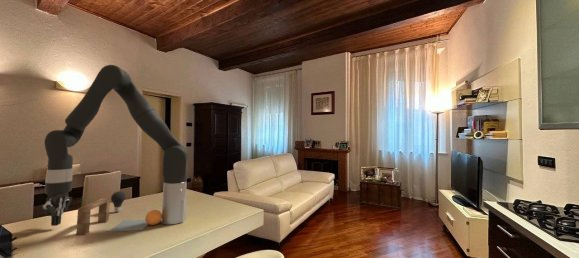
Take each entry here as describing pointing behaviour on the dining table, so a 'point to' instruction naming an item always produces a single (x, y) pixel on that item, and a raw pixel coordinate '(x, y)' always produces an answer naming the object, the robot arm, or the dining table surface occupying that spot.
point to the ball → (153, 217)
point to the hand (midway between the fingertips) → (55, 224)
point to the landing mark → (130, 225)
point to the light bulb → (118, 200)
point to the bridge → (84, 215)
